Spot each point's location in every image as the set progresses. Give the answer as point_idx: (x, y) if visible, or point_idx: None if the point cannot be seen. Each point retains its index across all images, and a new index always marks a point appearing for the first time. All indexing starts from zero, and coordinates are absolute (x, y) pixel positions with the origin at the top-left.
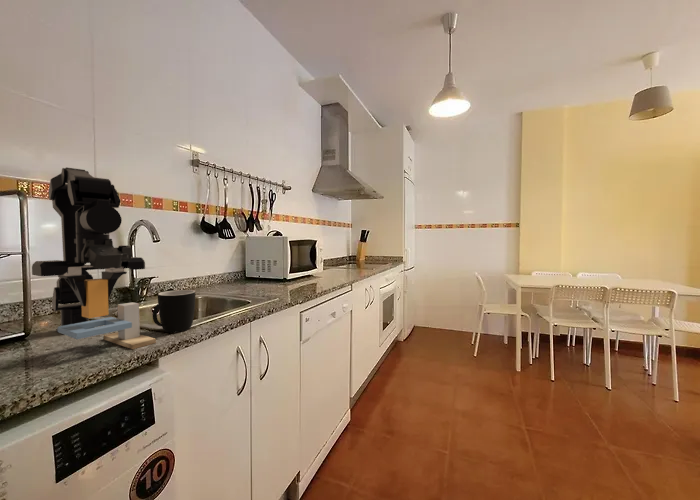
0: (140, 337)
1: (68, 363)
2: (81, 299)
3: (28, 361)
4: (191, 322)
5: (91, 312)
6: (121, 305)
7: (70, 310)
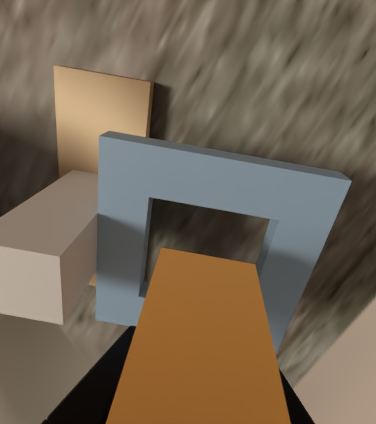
0: (79, 151)
1: (331, 154)
2: (296, 397)
3: (338, 280)
4: None
5: (247, 281)
6: (61, 285)
7: None
